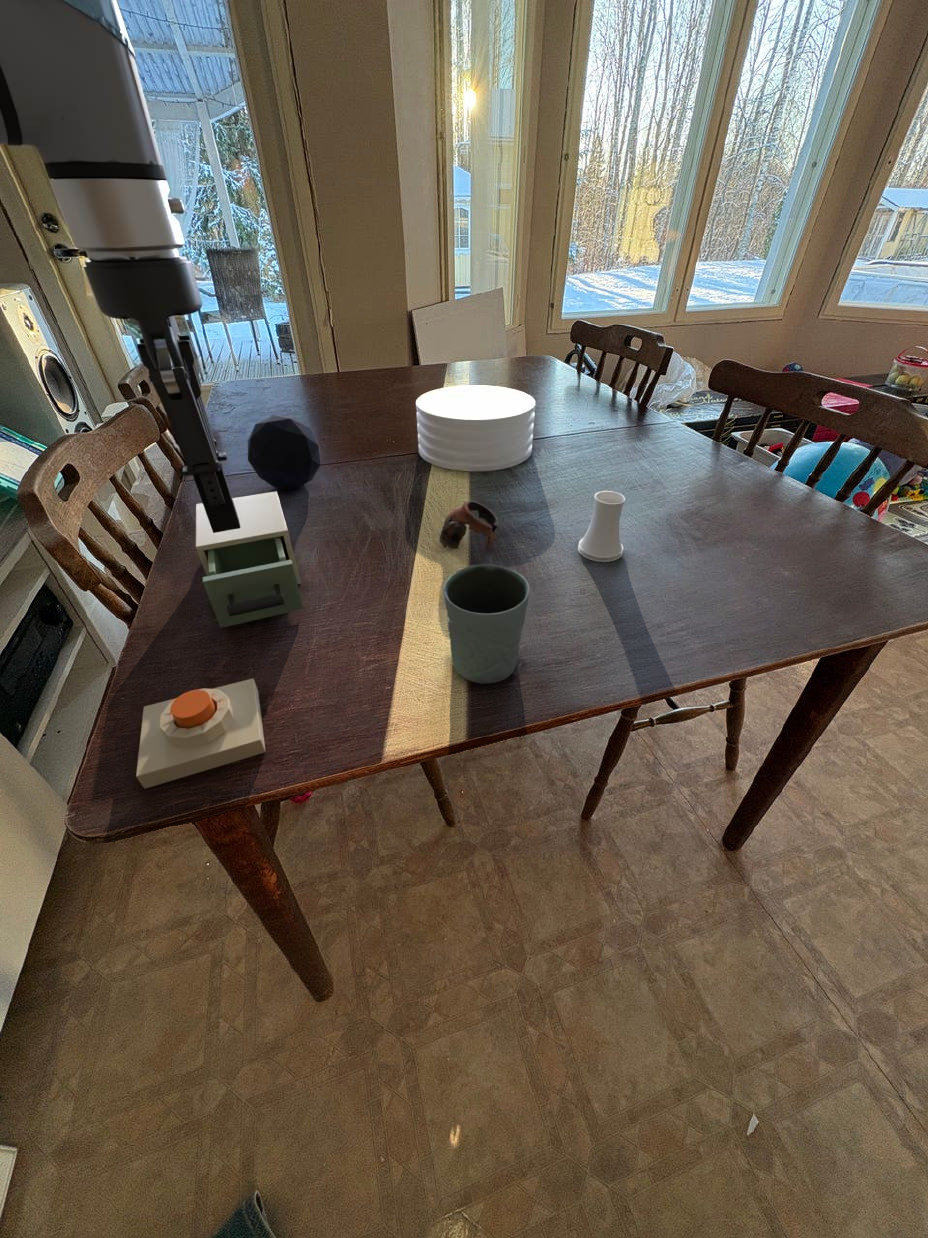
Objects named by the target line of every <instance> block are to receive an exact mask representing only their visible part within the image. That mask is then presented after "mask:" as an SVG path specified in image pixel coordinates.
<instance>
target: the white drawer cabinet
mask: <svg viewBox="0 0 928 1238" xmlns="http://www.w3.org/2000/svg"><path fill="white" fill-rule="evenodd" d="M232 499H233V502H234V505H235V509H236V512H237V515H238V518H239V521H240V528H239V529H233V530H228V531H222V532H217V533H213V531H212V528H211V525H210V523H209V520H208V517H207V514H206V511H205V508H204V506H203V503H202V502H201V503H196V504H195V549H196V551H197V554H198V557H199V560H200V562H201V564H202V567H203V569H204V572H205V575H206V576H210V575H209V565H208V550H209V549H214V548H220V547H225V546H231V545H236V544H241V543H247V542H252V541H258V540H263V539H268V538H274V537H279V536H280V539H281V542H282V546H283V550H284V554H285V558H286V561H287V560H291V561H292V565H293V569H294V573H295V577H296V581H297V585H300V584H301V583H302V581H301V578H300V574H299V571H298V565H297V562H296V558H295V553H294V550H293V545H292V542H291V538H290V534H289V530H288V527H287V523H286V520H285V516H284V512H283V509H282V505H281V502H280V501H281V500H280V498H279V495H278V491H277V490H275V491H270V492H263V493H257V494H250V495H245V496H244V495H243V496H238V497H232Z"/></svg>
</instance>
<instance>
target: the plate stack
mask: <svg viewBox="0 0 928 1238" xmlns="http://www.w3.org/2000/svg"><path fill="white" fill-rule="evenodd" d="M415 409H416V422H417V423H416V429H417V443H418V454H419V455H420V457H421V458H422V459H423V460H424V461H425V462H427V463H429V464H431V465H433V466H436V467H438V468H443V469H446V470H452V471H460V472H491V471H499V470H504V469H508V468H512V467H514V466H518V465H520V464H522V463H523V462H525V461H527V460H528V459H529V458H530V457H531V455H532V451H533V441H534V434H533V433H534V428H535V427H534V426H535V424H534V422H535V416H536V415H535V410H536V400H535V398H534V397H533V396H532V395H530V394H528V393H526V392H524V391H521V390H518V389H516V388H515V389H514V388H510V387H505V386H497V385H483V384H482V385H481V384H473V385H472V384H471V385H470V384H468V385H455V386H447V387H441V388H436V389H433V390H430V391H428V392H425V393H423V394H421V395H420V396H418V397H417V399H416V400H415Z"/></svg>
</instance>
